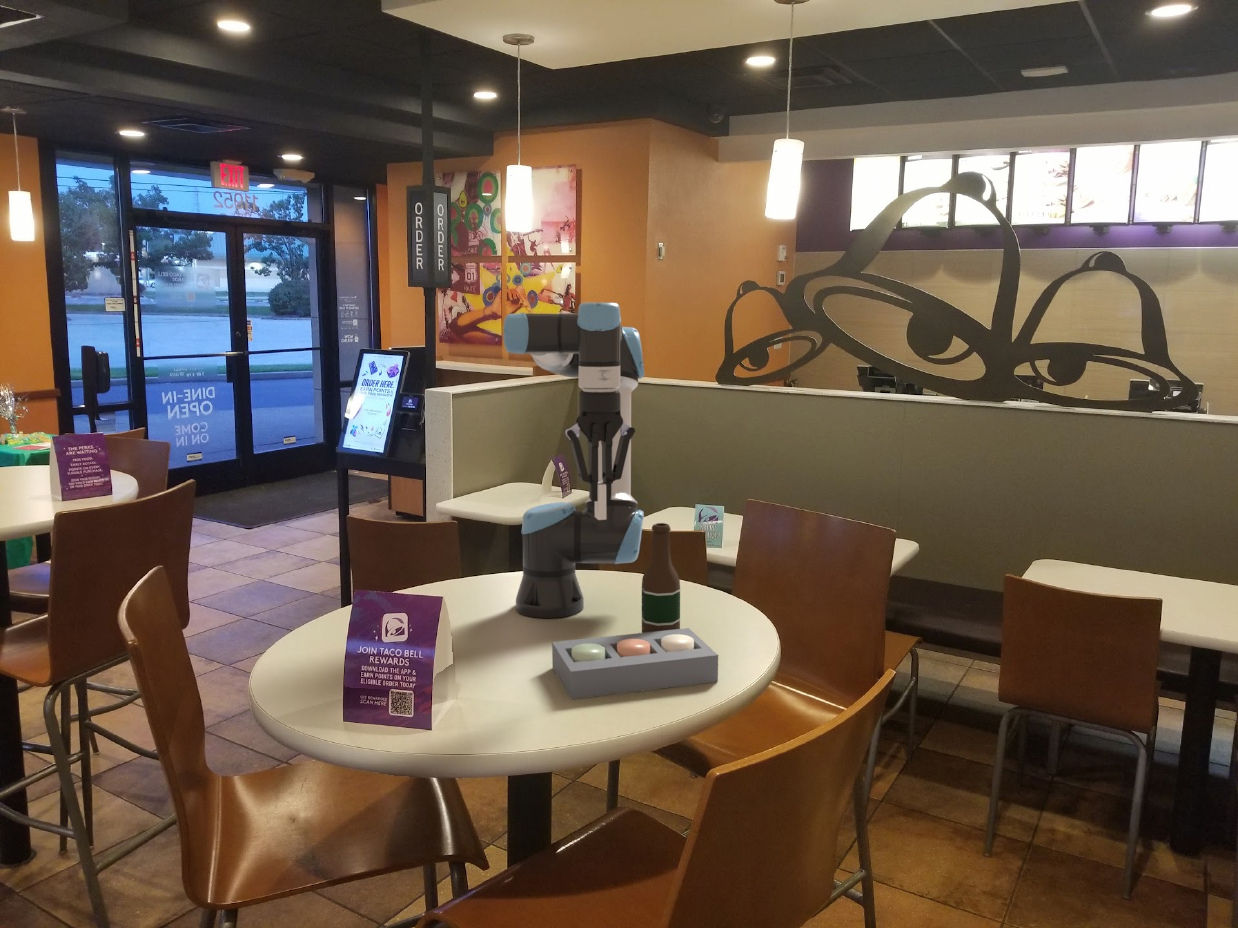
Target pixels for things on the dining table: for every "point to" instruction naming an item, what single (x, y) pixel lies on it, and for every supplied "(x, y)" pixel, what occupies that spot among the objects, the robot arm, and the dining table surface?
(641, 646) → the button terracotta
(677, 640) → the button cream
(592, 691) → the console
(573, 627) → the dining table surface
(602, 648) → the button sage
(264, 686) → the dining table surface
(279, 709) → the dining table surface
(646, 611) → the beer bottle
